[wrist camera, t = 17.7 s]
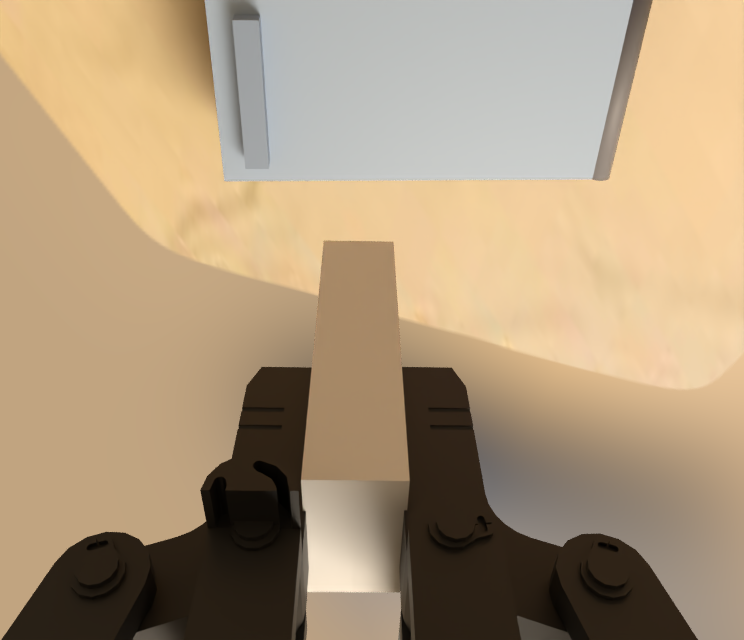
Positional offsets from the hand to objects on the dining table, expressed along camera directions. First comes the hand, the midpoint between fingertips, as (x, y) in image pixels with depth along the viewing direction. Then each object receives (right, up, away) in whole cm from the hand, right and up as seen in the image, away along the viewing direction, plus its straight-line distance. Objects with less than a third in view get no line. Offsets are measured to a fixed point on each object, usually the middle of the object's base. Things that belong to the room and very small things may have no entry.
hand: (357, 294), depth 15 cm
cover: (+3, +10, +14) cm, 18 cm away
